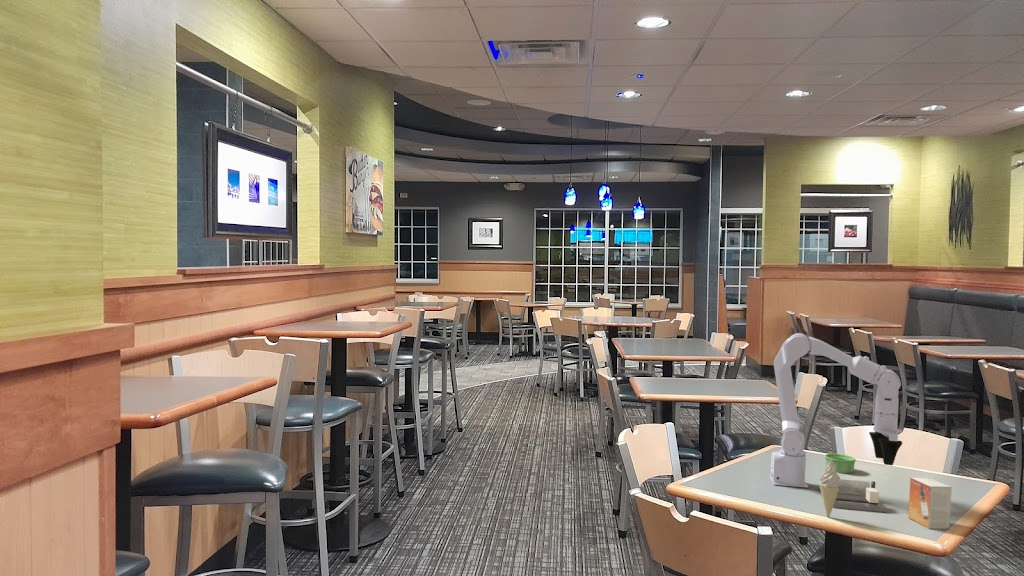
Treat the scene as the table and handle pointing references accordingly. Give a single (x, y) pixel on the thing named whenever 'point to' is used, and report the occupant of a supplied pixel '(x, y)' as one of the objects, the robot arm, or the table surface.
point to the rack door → (854, 486)
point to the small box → (930, 503)
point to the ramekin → (841, 462)
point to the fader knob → (872, 495)
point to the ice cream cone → (829, 486)
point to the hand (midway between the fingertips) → (884, 461)
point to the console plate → (857, 502)
